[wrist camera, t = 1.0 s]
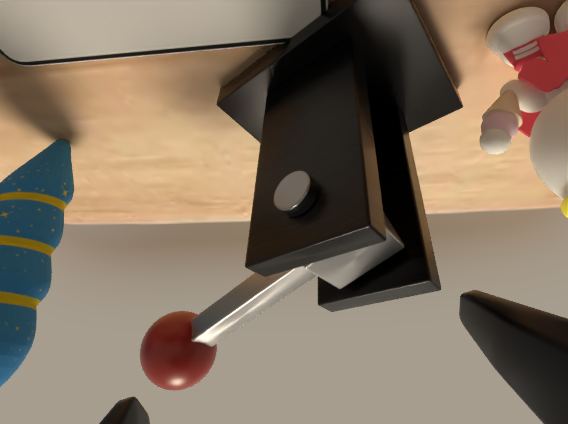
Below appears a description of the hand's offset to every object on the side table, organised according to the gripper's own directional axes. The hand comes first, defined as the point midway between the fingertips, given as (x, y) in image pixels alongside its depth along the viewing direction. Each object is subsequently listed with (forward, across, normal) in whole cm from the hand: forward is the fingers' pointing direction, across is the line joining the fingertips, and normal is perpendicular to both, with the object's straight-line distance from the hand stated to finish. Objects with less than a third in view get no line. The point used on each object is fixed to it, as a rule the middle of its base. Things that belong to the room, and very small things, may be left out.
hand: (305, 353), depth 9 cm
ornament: (+16, -10, +4) cm, 20 cm away
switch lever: (+6, -1, -1) cm, 6 cm away
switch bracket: (+11, +5, +4) cm, 12 cm away
